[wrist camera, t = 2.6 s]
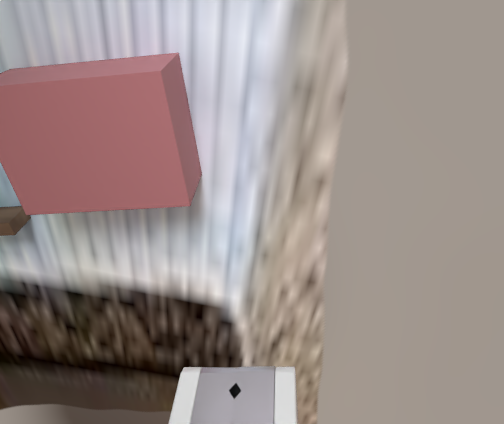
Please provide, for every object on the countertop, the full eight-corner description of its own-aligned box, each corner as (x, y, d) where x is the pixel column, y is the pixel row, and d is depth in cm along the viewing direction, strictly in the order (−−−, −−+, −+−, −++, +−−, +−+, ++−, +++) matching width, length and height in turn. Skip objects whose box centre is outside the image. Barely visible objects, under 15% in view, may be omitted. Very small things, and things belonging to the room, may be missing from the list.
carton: (12, 68, 28) (-35, 88, 24) (179, 51, 27) (160, 70, 23) (58, 181, 33) (26, 214, 29) (202, 172, 32) (190, 205, 28)
